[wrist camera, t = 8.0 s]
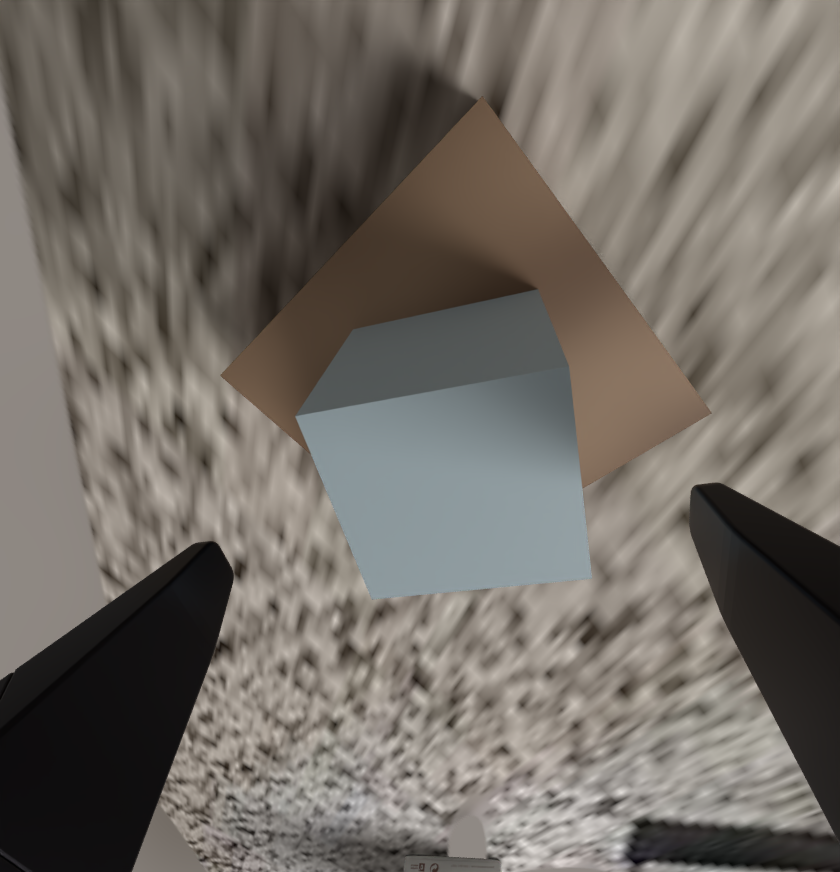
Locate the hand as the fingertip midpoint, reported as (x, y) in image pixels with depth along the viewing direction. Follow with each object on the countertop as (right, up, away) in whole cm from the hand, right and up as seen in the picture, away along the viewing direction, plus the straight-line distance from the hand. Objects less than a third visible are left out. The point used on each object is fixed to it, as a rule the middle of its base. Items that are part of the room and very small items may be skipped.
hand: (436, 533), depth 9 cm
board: (+1, +4, +7) cm, 8 cm away
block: (+1, +3, +5) cm, 6 cm away
